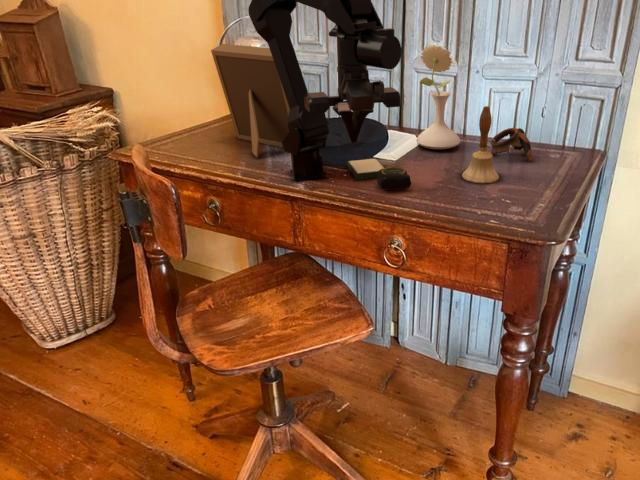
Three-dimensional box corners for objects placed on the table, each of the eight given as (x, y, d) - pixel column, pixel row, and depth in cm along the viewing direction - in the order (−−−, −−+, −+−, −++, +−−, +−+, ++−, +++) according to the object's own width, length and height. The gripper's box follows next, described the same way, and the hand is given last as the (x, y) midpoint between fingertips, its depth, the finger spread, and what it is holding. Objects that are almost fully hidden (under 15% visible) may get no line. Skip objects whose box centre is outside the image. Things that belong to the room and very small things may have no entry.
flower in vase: (468, 147, 150) (476, 46, 138) (438, 156, 144) (444, 51, 132) (432, 136, 159) (437, 40, 147) (403, 144, 153) (405, 45, 140)
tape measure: (379, 194, 123) (379, 177, 121) (374, 182, 128) (374, 166, 127) (410, 192, 123) (411, 175, 121) (404, 181, 129) (405, 165, 127)
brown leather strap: (531, 167, 137) (517, 139, 134) (495, 178, 143) (481, 150, 140) (541, 141, 145) (528, 114, 141) (507, 152, 151) (494, 126, 147)
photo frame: (248, 134, 163) (237, 41, 151) (309, 146, 153) (303, 46, 140) (210, 148, 152) (195, 48, 140) (273, 161, 142) (263, 55, 130)
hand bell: (498, 184, 127) (507, 112, 119) (461, 182, 128) (466, 110, 120) (498, 172, 134) (506, 102, 126) (462, 170, 135) (468, 101, 127)
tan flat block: (357, 180, 130) (356, 173, 129) (347, 167, 138) (347, 161, 137) (386, 176, 132) (386, 170, 131) (375, 164, 139) (375, 158, 138)
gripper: (312, 73, 101) (316, 158, 109) (412, 67, 105) (409, 149, 113) (301, 63, 111) (306, 142, 118) (393, 57, 115) (392, 134, 123)
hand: (353, 142), depth 118 cm, fingers closed
